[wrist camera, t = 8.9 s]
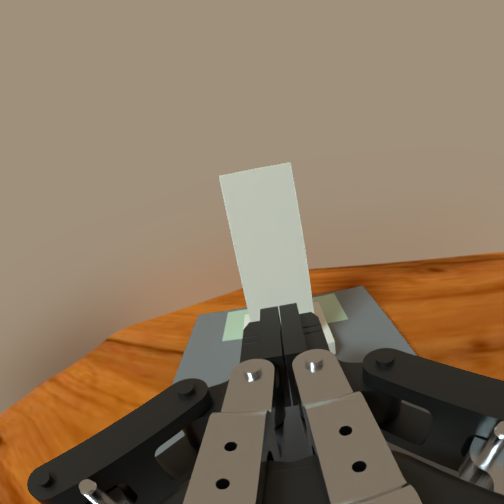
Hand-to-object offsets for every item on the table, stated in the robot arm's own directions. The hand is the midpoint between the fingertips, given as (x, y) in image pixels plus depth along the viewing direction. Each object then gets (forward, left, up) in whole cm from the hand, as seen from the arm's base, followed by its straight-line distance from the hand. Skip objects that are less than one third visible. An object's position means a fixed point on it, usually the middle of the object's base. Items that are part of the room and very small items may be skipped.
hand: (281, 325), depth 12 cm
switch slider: (0, -8, -6) cm, 10 cm away
